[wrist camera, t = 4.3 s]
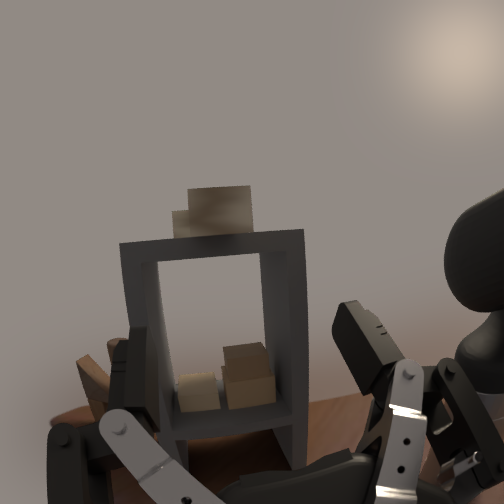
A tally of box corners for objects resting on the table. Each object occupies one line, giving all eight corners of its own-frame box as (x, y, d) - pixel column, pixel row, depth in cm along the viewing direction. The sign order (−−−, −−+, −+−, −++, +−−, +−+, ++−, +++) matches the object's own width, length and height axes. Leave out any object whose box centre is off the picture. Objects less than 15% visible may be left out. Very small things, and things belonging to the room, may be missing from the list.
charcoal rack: (281, 423, 43) (271, 231, 40) (306, 467, 31) (303, 228, 29) (175, 437, 39) (141, 241, 37) (175, 486, 27) (119, 243, 25)
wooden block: (107, 420, 42) (82, 332, 41) (157, 431, 40) (134, 337, 39) (98, 430, 38) (69, 339, 37) (149, 443, 37) (122, 346, 36)
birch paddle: (237, 233, 38) (235, 210, 38) (283, 230, 19) (280, 184, 19) (177, 238, 37) (175, 215, 37) (158, 239, 17) (156, 191, 17)
